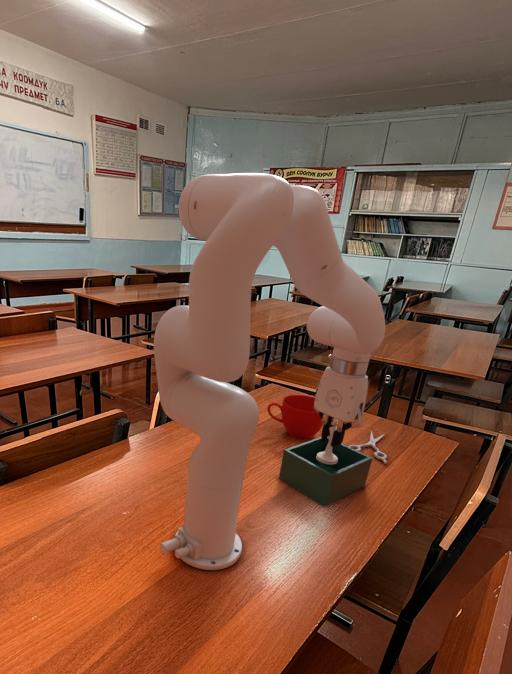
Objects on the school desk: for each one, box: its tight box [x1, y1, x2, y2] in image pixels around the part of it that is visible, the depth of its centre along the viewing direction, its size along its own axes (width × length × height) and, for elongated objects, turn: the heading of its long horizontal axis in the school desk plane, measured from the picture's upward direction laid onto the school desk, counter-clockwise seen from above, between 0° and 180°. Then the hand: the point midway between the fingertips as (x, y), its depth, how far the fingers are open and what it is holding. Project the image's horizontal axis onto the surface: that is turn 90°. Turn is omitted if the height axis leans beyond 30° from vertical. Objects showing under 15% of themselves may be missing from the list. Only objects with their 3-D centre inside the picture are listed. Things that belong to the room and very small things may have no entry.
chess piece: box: [316, 419, 338, 465], centre depth 100 cm, size 5×5×10 cm
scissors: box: [348, 429, 388, 465], centre depth 125 cm, size 11×1×20 cm
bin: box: [278, 436, 374, 507], centre depth 103 cm, size 16×14×8 cm
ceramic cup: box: [267, 394, 323, 440], centre depth 127 cm, size 13×17×10 cm
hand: (330, 442), depth 100 cm, fingers closed on chess piece
